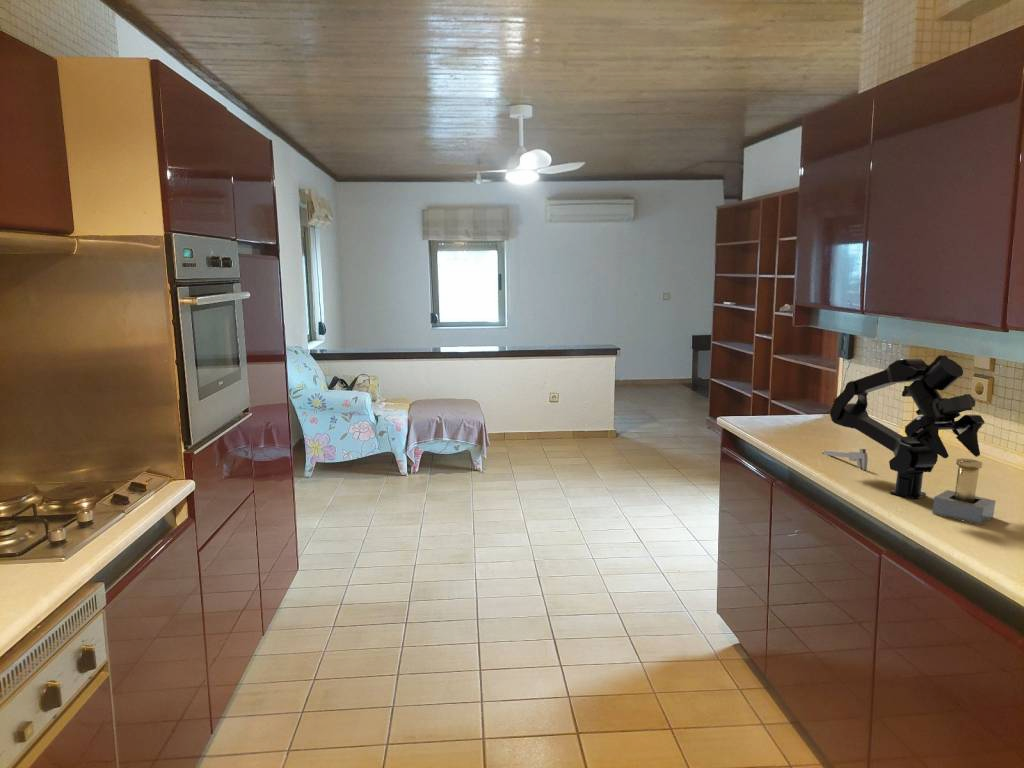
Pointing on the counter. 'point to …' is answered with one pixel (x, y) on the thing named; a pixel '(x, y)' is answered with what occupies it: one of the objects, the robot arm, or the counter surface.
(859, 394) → the robot arm
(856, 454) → the caliper
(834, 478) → the counter surface
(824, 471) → the counter surface
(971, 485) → the flanged metal cylinder
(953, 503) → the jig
